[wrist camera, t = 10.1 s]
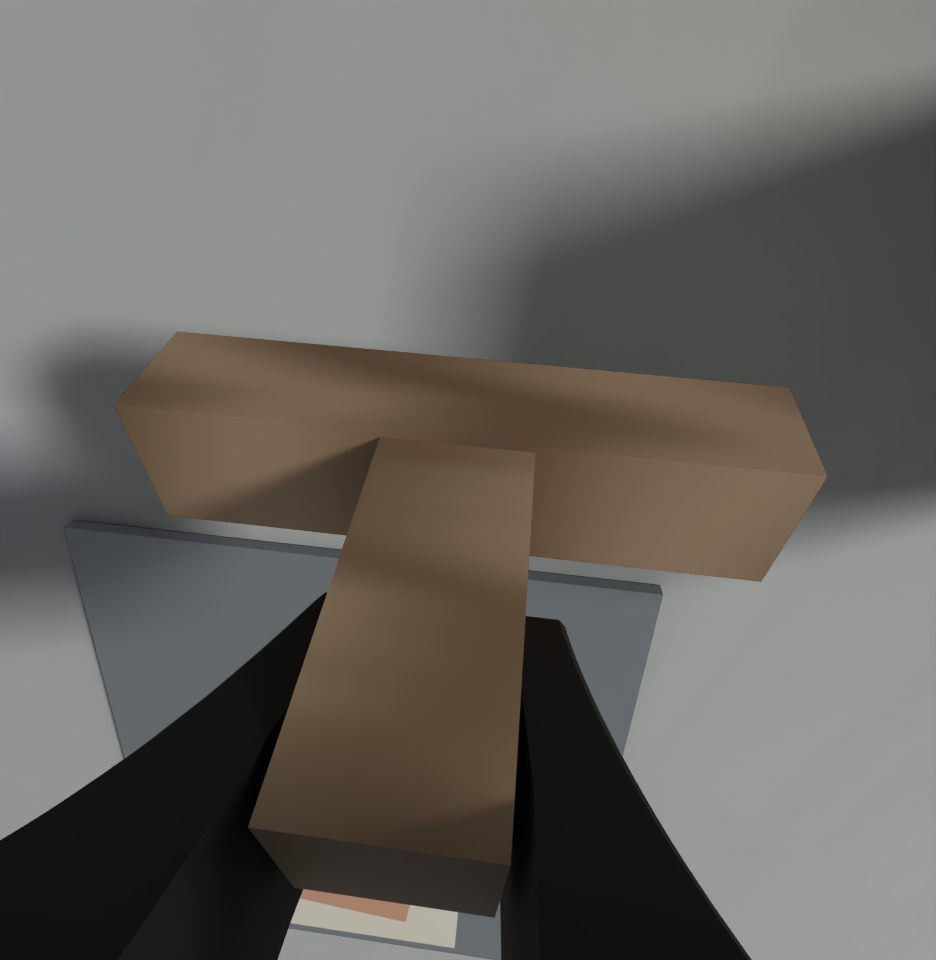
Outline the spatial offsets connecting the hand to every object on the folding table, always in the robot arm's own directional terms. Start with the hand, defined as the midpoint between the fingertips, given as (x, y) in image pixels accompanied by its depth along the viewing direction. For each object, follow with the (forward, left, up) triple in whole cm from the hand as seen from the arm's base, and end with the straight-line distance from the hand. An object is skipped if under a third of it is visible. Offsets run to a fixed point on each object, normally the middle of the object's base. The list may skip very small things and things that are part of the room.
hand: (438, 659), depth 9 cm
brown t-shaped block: (0, +3, -3) cm, 4 cm away
